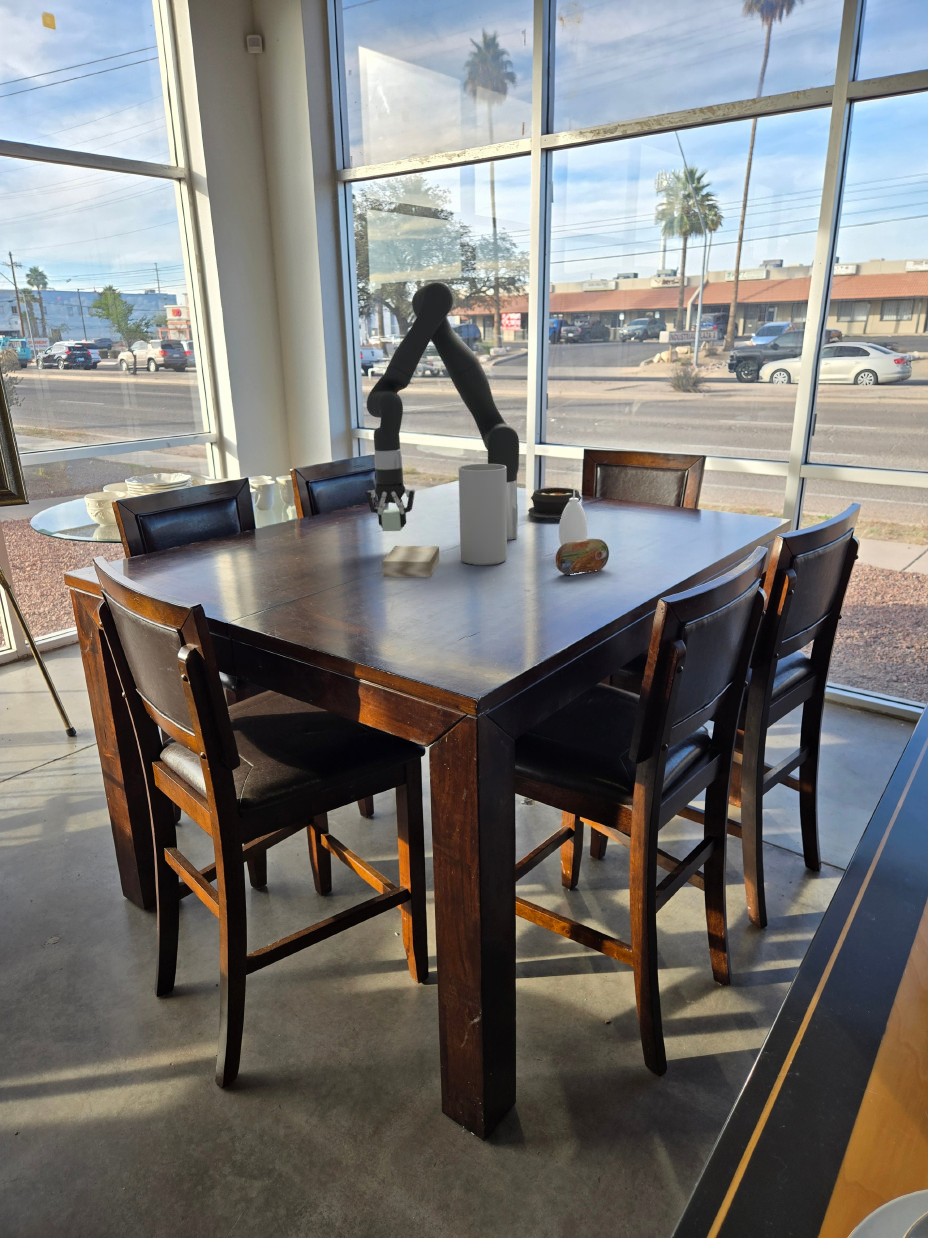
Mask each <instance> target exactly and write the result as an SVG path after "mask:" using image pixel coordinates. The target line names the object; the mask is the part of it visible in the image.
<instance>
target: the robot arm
mask: <svg viewBox="0 0 928 1238" xmlns="http://www.w3.org/2000/svg"><path fill="white" fill-rule="evenodd" d="M411 299H412V300H411V307H412V310H413V313H414V314H415V319H414V322H413V323H412V326H411V327H410V328H409V331H407V333H406V334H405V336H404V338H403V339H402V341H401V342H400V343H399V345H398V346H397V348H396V350H395V351H394V352H393V355H392V357H391V359H390V361H389V363H388V365H387V368H386V370H385V372H384V374H383V375H382V376H381V377H380V378H379V379H378V380H377V382H376V383H375V385H374V386H373V387H372V389H371V390H370V392H369V394H368V396H367V399H366V409H367V411H368V414H370V415H371V416H372V417H375V418H378V419H379V418H380V423H379V424H380V425H379V427H377V428H375V430H374V431H373V444H374V459H373V460H374V473H375V485H376V486H375V488H374V489H372V490H369V489H368V490H367V491H366V492H365V496H366V500H367V502H368V505H369V510H370V511H371V513H375V514H377V517H378V525H379V526H380V527H381V528H382V516H381V513H382V512H383V511H384V510H385V506H386V504H389V503H392V504H395V505H396V507H397V509H398V510H399V511H400V513H401V514H400V521H401V527H403V528H404V527H405V526H406V525H407V514H408V513H409V512H411V511H412V510H413V505H414V500H415V494H416V490H415V489H413V488H412V489H408V488H406V487H405V485H404V475H403V472H404V471H403V457H402V452H401V442H400V440H401V438H400V431H401V428H402V421H403V415H404V406H403V400H402V398H401V396H400V395H399V394H398V393H399V392H400V391H403V390H404V389H406V388H407V387H408V386H409V384H410V383H411V380H412V378H413V376H414V374H415V372H416V370H417V367H418V365H419V363H420V361H421V359H422V357H423V355H424V353H425V351H426V349H427V348H428V345H429V343H430V342H432V344H433V346H434V347H435V350H436V352H437V354H438V356H439V358H440V359H441V362H442V363H443V365H444V367H445V369H446V371H447V373H448V375H449V377H450V380H451V382H452V384H453V385H454V387H455V390H456V391H457V393H458V395H459V396H460V398H461V399H462V401H463V403H464V405H465V406H466V407H467V409H468V411H469V413H470V414H471V416H472V417H473V420H474V421H475V424H476V427H477V429H478V431H479V433H480V434H479V435H480V436H481V440H482V442H483V445H484V447H485V449H486V450H487V464H499V465H504V466H506V478H507V541H508V540H517V538H518V530H519V529H518V524H519V523H518V512H519V511H518V474H519V473H518V472H519V468H520V467H519V466H520V438H519V435H518V433H517V431H516V430H515V429H514V428H513V427H511V426H509V425H508V424H507V423H506V421H505V420H504V418H503V417H502V415H501V413H500V410H499V409H498V408H497V405H496V403H495V400H494V398H493V394H492V391H491V386H490V383H489V380H488V377H487V375H486V372H485V371H484V368H483V365H482V364H481V362H480V360H479V358H478V357H477V355H476V354H475V352H474V351H473V350H472V348H470V347H469V346H468V345H467V343H465V342H464V341H463V340H462V338H460V337H459V336H458V335H457V333H456V332H455V329H453V326H452V325H451V323H450V320H449V319H448V317H447V316H448V314H449V313H450V312H451V310H452V308H453V305H454V296H453V292H452V289H450V287H449V286H448V285H447V284H446V283H444V282H442V281H433V282H429V283H428V284H426V285H424V286H422V287H421V288H419V289H418V290H417V291H415V293H414V294H413V295H412V298H411ZM404 494H406V498H408V499H407V503H406V507H405V504H404V502H403V499H402V497H403V496H404ZM376 496H378V498H379V499H380V502H379V505H378V507H377V504H376V501H375V497H376Z"/></svg>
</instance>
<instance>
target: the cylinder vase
mask: <svg viewBox="0 0 928 1238" xmlns="http://www.w3.org/2000/svg"><path fill="white" fill-rule="evenodd" d="M458 494H459V495H458V497H459V500H458V503H459V506H458V507H459V508H458V509H459V543H460V544H459V545H460V546H459V548H460V549H459V550H460V560H461V561H462V562H463V563H465V564H467V563H468V565H471V564H473V566H493V565H499V564H501V563H504V562H505V561H506V560H507V557H508V555H507V553H508V544H507V542H508V540H507V478H506V466H504V465H499V464H488V463H473V464H465V465H460V466H458Z"/></svg>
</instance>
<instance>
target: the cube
mask: <svg viewBox="0 0 928 1238" xmlns="http://www.w3.org/2000/svg"><path fill="white" fill-rule="evenodd" d="M400 514H401V513H400V511H399V509H384V511H383V512H382V513H381V516H382V529H381V530H382V532H401V531H402V530H403V528H404V527H401V521H400Z"/></svg>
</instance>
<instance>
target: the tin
mask: <svg viewBox="0 0 928 1238" xmlns="http://www.w3.org/2000/svg"><path fill="white" fill-rule="evenodd" d="M609 557H610V551H609V546H608V545H607V543H606V542H605V541H604V540H602V539H599V538H587V539H586V540H580V541H575V542H568V543H565V544H563V545H561V546H560V547H559V548H558V549H557V551H556V554H555V565H556V568H557V569H558V571H559V572H561V574H564V575H567V576H568V575H570V574H574V573H579V572H589V571H595V570H599V571H601V570H602V569H603V568H605V566H606V565H607V563H608V560H609Z"/></svg>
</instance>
